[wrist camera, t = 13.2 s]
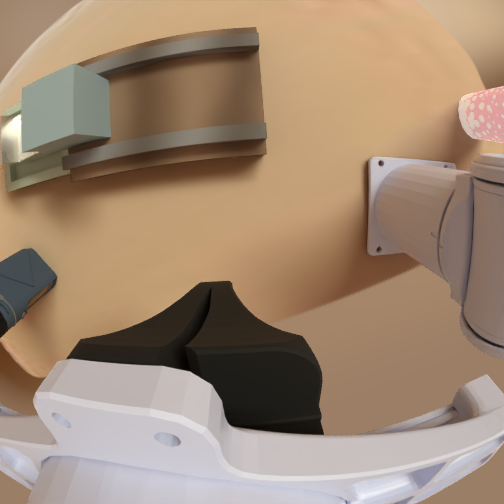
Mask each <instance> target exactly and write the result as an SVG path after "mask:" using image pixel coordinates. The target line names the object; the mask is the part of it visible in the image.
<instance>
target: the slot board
mask: <svg viewBox="0 0 504 504" xmlns="http://www.w3.org/2000/svg"><path fill="white" fill-rule="evenodd" d="M258 50H259V36H258V33H257V30H256V27H250V28H233V29H221V30H211V31H203V32H196V33H189V34H183V35H177V36H172V37H166V38H162V39H157V40H152V41H148V42H144V43H140V44H136V45H132V46H129V47H125V48H122V49H118V50H115V51H112V52H109V53H106V54H103V55H100V56H97V57H94V58H91V59H88V60H86V61H83V62H80V63H78V64H77V65H79V66H81V67H83V68H85V69H87V70H89V71H91V72H93V73H95V74H97V75H99V76H101V77H103V78H105V79H107V80H109V101H110V128H111V137H110V138H106V139H102V140H98V141H94V142H91V143H87V144H83V145H80V146H76V147H73V148H70V149H68V155H67V156H63V157H62V168H63V170H69V169H70V175H71V182H75V181H80V180H84V179H89V178H93V177H98V176H103V175H108V174H113V173H118V172H123V171H129V170H134V169H140V168H146V167H153V166H159V165H166V164H173V163H180V162H188V161H196V160H205V159H215V158H225V157H237V156H250V155H265V154H267V151H266V139H267V131H266V123H264V110H263V98H262V85H261V74H260V62H259V51H258Z"/></svg>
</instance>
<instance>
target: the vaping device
mask: <svg viewBox="0 0 504 504" xmlns="http://www.w3.org/2000/svg"><path fill="white" fill-rule="evenodd" d="M56 278H57V276H56V274H55V273H54V272H53V271H52V270H51V268H50V267H49V266H48V265H47V264H46V263H45V262H44V261H43V260H42V259H41V257H40V256H39V255H38V254H37V253H36V252H35V251H34V250H33V249H31V248H30V249H22V250H20V251H19V252H17V253H15V254H13V255H12V256H10V257H8V258H6V259H5V260H3V261H1V262H0V338H1V337H2V336H3V335H4V334H5V333H6V332H7V331H8V330H9V329H10V328H11V327H13V326H15V324H16V323H17V322H18V321H19V320H20V319H23V318H24V316H25V315H26V314H27V310H28V309H29V308H30V307H31V306H32V305H33V304H34V303H36V302H37V301H38V300H39V299H40V298H41V297H43V296H44V295H45V294H46V293H47V292H48V291H50V289H52V288H53V287H54V286H55V284H56Z"/></svg>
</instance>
